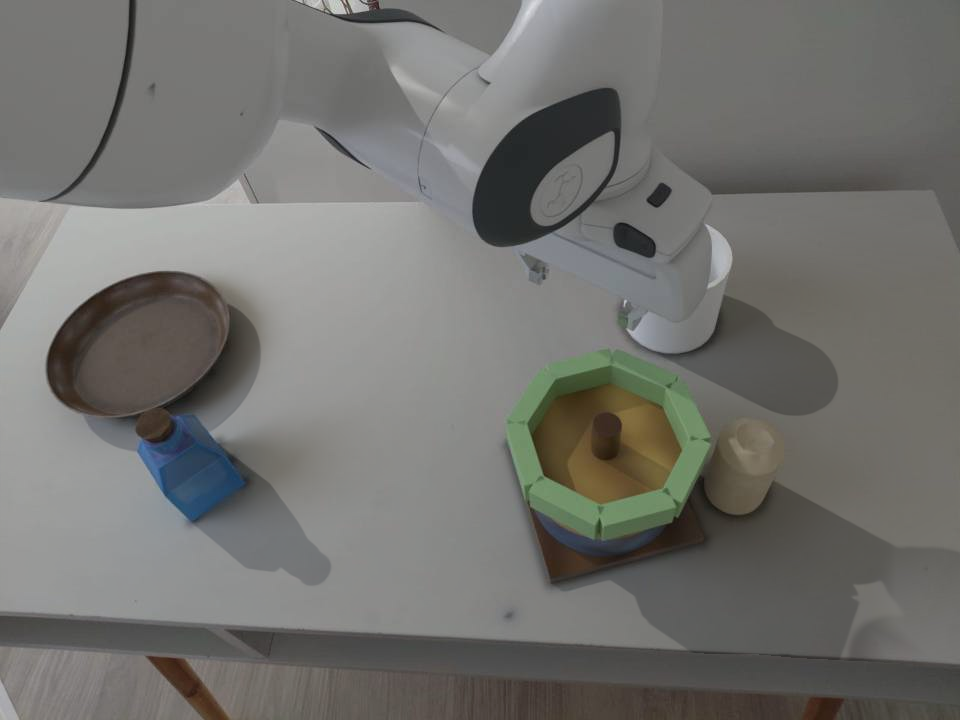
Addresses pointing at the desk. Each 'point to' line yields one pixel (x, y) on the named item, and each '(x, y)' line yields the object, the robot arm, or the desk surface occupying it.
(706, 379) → the desk surface
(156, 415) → the perfume bottle
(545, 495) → the ring
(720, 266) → the mug
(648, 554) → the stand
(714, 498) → the candle
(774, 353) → the desk surface
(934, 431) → the desk surface
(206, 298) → the plant saucer
